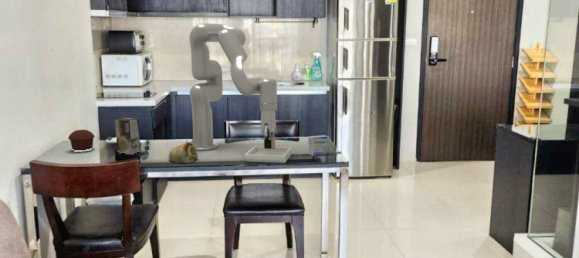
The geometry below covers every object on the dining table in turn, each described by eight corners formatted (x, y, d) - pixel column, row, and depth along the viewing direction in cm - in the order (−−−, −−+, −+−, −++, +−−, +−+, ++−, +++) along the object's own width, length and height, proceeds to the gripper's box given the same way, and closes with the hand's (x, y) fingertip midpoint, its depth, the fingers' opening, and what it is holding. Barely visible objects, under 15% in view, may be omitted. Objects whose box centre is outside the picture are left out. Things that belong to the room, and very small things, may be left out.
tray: (244, 161, 220) (244, 154, 220) (254, 152, 238) (254, 146, 237) (284, 163, 217) (284, 156, 217) (292, 153, 235) (292, 147, 234)
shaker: (263, 149, 225) (262, 135, 224) (265, 146, 230) (265, 133, 228) (274, 149, 224) (273, 136, 223) (276, 147, 229) (276, 134, 228)
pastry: (199, 163, 218) (198, 145, 217) (169, 165, 215) (168, 146, 214) (196, 155, 232) (195, 138, 230) (168, 157, 228) (167, 140, 227)
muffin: (94, 147, 249) (93, 127, 247) (96, 151, 239) (95, 131, 238) (68, 149, 244) (66, 129, 242) (69, 154, 234) (67, 133, 233)
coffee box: (141, 152, 239) (139, 118, 236) (131, 155, 233) (129, 120, 230) (126, 150, 242) (124, 117, 239) (116, 153, 237) (114, 119, 234)
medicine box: (313, 156, 230) (313, 137, 228) (308, 154, 234) (308, 136, 232) (327, 154, 233) (328, 136, 232) (322, 152, 237) (323, 134, 236)
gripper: (264, 104, 232) (265, 143, 236) (255, 109, 216) (256, 150, 219) (280, 104, 231) (281, 143, 234) (272, 109, 215) (273, 151, 218)
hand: (269, 146), depth 227 cm, fingers closed on shaker, 5 cm apart
